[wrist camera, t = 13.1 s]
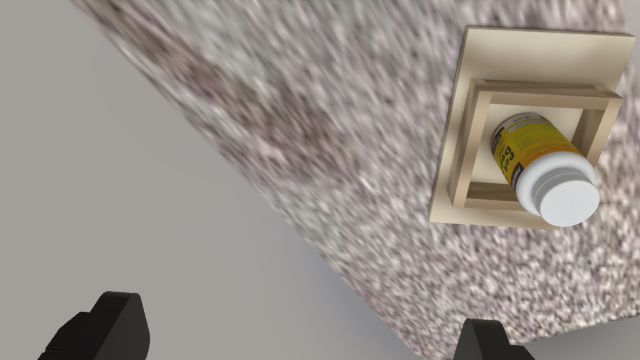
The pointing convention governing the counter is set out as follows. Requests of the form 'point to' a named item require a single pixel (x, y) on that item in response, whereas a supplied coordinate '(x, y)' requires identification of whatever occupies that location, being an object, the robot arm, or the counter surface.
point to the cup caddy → (522, 112)
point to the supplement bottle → (545, 170)
